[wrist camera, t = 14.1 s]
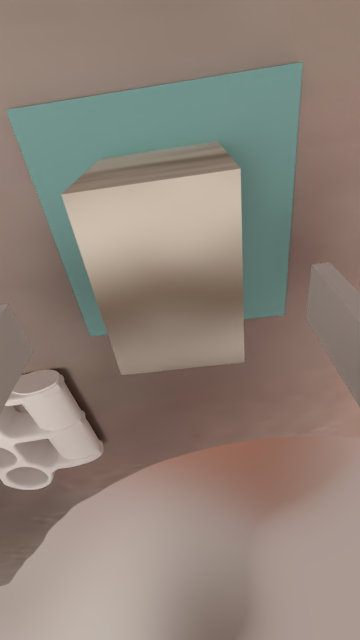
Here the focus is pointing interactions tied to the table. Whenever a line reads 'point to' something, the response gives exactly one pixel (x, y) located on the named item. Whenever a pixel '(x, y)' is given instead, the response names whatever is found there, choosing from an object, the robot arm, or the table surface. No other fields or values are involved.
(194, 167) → the block
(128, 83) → the table surface
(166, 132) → the mat
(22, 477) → the white brass knuckles
